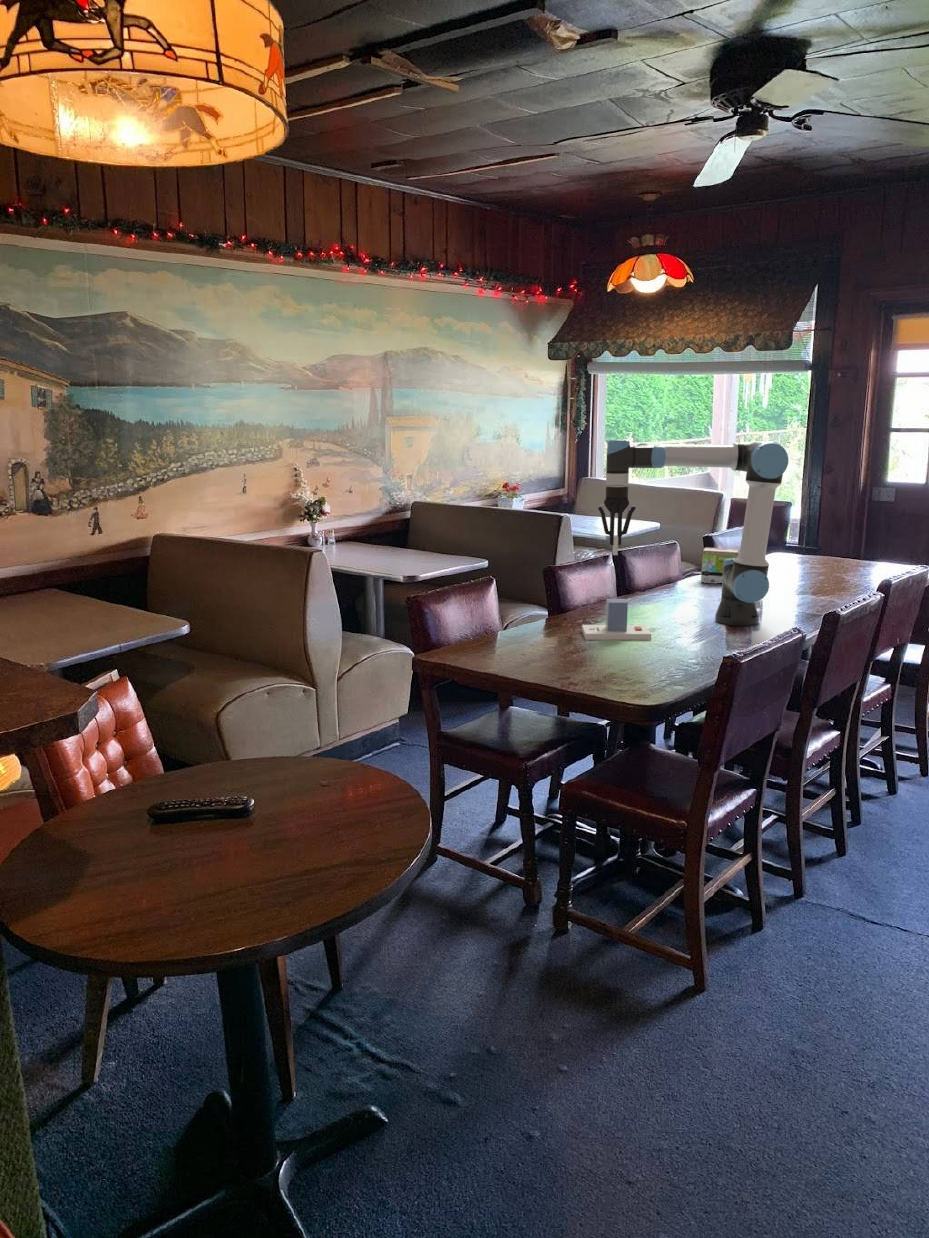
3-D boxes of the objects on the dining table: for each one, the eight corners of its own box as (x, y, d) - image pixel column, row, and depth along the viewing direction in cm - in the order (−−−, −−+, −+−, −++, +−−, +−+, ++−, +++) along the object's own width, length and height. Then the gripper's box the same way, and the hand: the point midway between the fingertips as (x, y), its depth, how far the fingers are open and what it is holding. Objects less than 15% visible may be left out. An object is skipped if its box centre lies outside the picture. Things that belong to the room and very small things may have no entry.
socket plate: (645, 630, 325) (645, 623, 324) (651, 639, 312) (651, 632, 312) (582, 630, 326) (582, 623, 325) (585, 639, 313) (585, 632, 313)
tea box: (700, 583, 410) (702, 550, 407) (702, 579, 419) (704, 546, 416) (736, 585, 405) (738, 551, 402) (737, 581, 415) (739, 548, 411)
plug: (624, 632, 322) (625, 598, 319) (626, 637, 316) (627, 602, 313) (605, 632, 322) (606, 598, 320) (607, 637, 316) (608, 602, 314)
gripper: (634, 484, 320) (632, 552, 325) (596, 485, 321) (595, 552, 326) (637, 486, 313) (635, 556, 318) (598, 486, 313) (597, 556, 319)
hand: (615, 554), depth 322 cm, fingers closed
